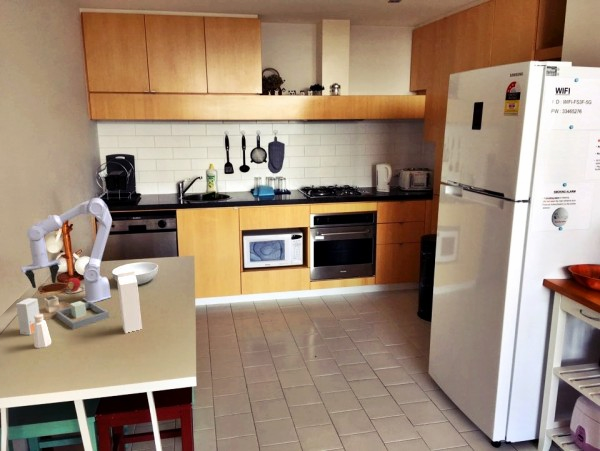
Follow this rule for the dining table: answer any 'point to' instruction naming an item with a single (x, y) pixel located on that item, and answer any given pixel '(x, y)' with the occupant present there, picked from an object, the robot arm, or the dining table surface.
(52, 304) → the birch block
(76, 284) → the apple
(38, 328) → the pepper shaker
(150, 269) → the serving bowl
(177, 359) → the dining table surface
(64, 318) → the bin
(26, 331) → the skincare box
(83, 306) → the sage block
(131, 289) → the milk
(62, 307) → the walnut board
